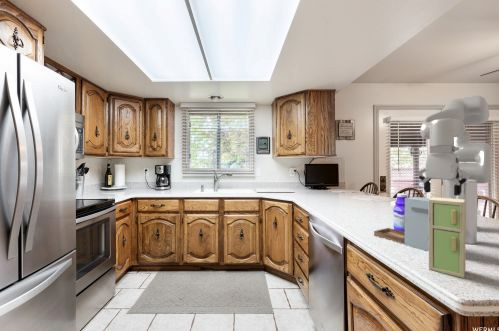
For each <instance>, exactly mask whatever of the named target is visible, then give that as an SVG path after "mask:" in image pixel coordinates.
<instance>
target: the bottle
mask: <svg viewBox="0 0 499 331" xmlns="http://www.w3.org/2000/svg"><path fill="white" fill-rule="evenodd" d="M396 194H397V195H396V201H395V202H394V204H395V205H394V207H393V209H392V210H393V212H392V213H393V217H392V218H393V226H392V227H393V229H395V230H399V231H403V232H405V198H409V197H408V196H409V195H408V193H396Z"/></svg>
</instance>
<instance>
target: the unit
mask: <svg viewBox="0 0 499 331" xmlns="http://www.w3.org/2000/svg"><path fill="white" fill-rule="evenodd" d="M430 198H431V197H429V198H428V197H423V196H422V197H419V196H413V197H412V196H411V197H408V198H405V239H404V244H405V246H408V247H411V248H415V249H419V250H422V251H426V252H429V210H428V202H429V199H430Z"/></svg>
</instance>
